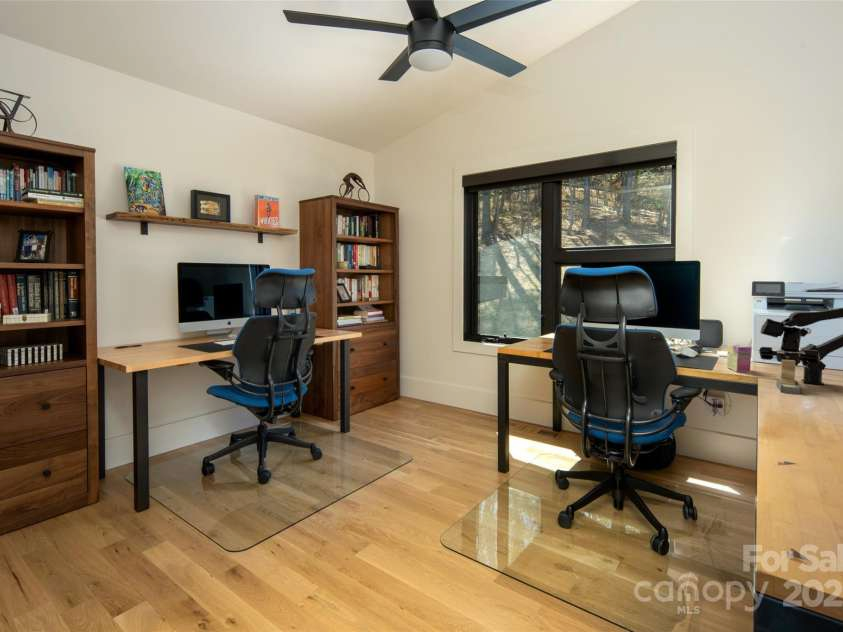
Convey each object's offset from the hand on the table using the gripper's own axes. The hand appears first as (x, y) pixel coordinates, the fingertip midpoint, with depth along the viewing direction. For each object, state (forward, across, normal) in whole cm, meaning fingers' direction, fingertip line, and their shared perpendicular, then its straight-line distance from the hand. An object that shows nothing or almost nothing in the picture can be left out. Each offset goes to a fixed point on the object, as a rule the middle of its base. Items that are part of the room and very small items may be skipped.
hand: (785, 372), depth 183 cm
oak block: (+5, -1, +1) cm, 6 cm away
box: (-13, +21, -23) cm, 34 cm away
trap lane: (+8, -2, +1) cm, 9 cm away
